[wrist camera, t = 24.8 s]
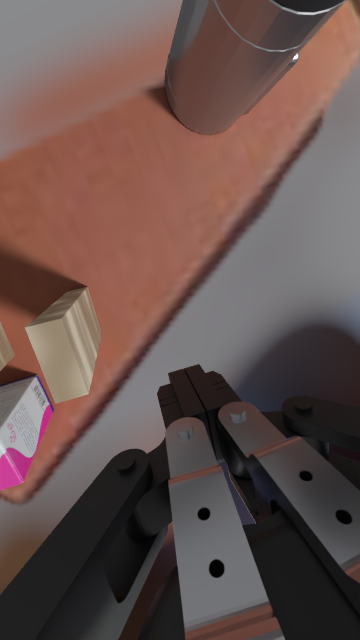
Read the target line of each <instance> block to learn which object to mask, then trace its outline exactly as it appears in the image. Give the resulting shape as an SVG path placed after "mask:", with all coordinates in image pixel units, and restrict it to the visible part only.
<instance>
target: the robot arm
mask: <svg viewBox="0 0 360 640" xmlns="http://www.w3.org/2000/svg"><path fill="white" fill-rule="evenodd" d="M346 1H347V0H183V2H182V6H181V10H180V14H179V18H178V23H177V27H176V30H175V34H174V38H173V42H172V46H171V50H170V54H169V56H168V61H167V66H166V70H165V90H166V95H167V99H168V102H169V105H170V107H171V109H172V111H173V113H174V114H175V115H176V117H177V118H178V120H179V121H180V122H181V123H182V124H183V125H185V126H186V127H187V128H189V129H190V130H192V131H194V132H197V133H200V134H206V135H212V134H217V133H220V132H222V131H224V130H226V129H227V128H229V127H230V126H231V125H232V124H233V123H234V122H235V121H236V120H237V119H238V118H239V117H240V116H241V115H242V114H247V113H249V112H250V111H251V110H252V108H253V107H254V106H255V105H256V104H257V103H258V102H259V101H260V100H261V99H262V98H263V97H264V96H265V95H266V94H267V93H268V92H269V91H270V90H271V89H272V88H273V87H274V86H275V85H276V83H277V82H278V81H279V80H280V79H281V78H282V77H283V76H284V75H285V74H286V73H287V72H288V71H289V70H290V69H291V68H292V67H293V66H294V65H295V64H296V62H297V61H298V58H299V52H300V51H301V50H302V49H303V48H304V46H305V45H306V44H307V43H308V42H309V41H310V40H311V39H312V38H313V37H314V36H315V35H316V33H317V32H318V31H319V30H320V29H321V28H322V27H323V26H324V24H325V23H326V22H327V21H328V20H329V19H330V18H331V17H332V16H333V15H334V14H335V12H336V11H337V10H338V9H339V8H340V7H341V6H342V5H343V4H344V3H345V2H346ZM168 375H169V380H170V384H167V385H164V386H161V387H160V388H159V390H158V393H157V396H158V400H159V404H160V408H161V412H162V416H163V420H164V424H165V427H166V432H165V438H164V440H163V442H162V443H161V444H160V445H159V446H158V447H157V448H155V449H154V450H152V451H151V452H149V453H148V454H146V453H145V452H144V451H143V450H140V449H129V450H126V451H123V452H121V453H119V454H118V455H116V456H115V457H113V458H112V459H111V461H110V462H109V463H108V464H107V465H106V467H105V468H104V469H103V470H102V472H101V473H100V474H99V475H98V476H97V477H96V479H95V480H94V481H93V483H92V484H91V485H90V486H89V487H88V489H87V490H86V491H85V492H84V493H83V495H82V496H81V497H80V498H79V499H78V501H77V502H76V503H75V504H74V506H73V507H72V508H71V509H70V511H69V512H68V513H67V514H66V515H65V517H64V518H63V519H62V520H61V521H60V523H59V524H58V525H57V526H56V528H55V529H54V530H53V531H52V533H51V534H50V535H49V536H48V537H47V539H46V540H45V541H44V542H43V543H42V545H41V546H40V547H39V548H38V550H37V551H36V552H35V553H34V554H33V556H32V557H31V558H30V560H29V561H28V562H27V563H26V564H25V565H24V567H23V568H22V569H21V571H20V572H19V573H18V574H17V575H16V577H15V578H14V579H13V580H12V581H11V583H10V584H9V585H8V586H7V588H6V589H5V590H4V591H3V592H2V594H1V595H0V640H118V638H119V636H120V634H121V632H122V630H123V628H124V625H125V623H126V621H127V619H128V617H129V615H130V612H131V610H132V608H133V606H134V604H135V602H136V600H137V597H138V595H139V593H140V591H141V589H142V587H143V584H144V582H145V580H146V578H147V576H148V574H149V572H150V569H151V567H152V565H153V563H154V561H155V559H156V557H157V554H158V552H159V550H160V548H161V546H162V544H163V541H164V539H165V537H166V535H167V531H168V524H170V523H171V522H172V521H173V528H174V538H175V547H176V556H177V566H175V567H174V569H173V570H172V571H171V572H170V573H169V575H168V576H167V577H166V579H165V580H164V582H163V583H162V585H161V586H160V588H159V590H158V591H157V594H156V595H155V597H154V599H153V601H152V604H151V606H150V608H149V611H148V614H147V616H146V619H145V621H144V624H143V626H142V629H141V632H140V634H139V636H138V639H137V640H360V462H357V461H354V460H351V459H348V458H345V457H342V456H339V455H336V454H333V453H330V452H329V446H328V445H329V443H331V444H334V445H337V446H340V447H344V448H347V449H350V450H354V451H357V452H360V407H356V406H351V405H347V404H342V403H337V402H333V401H328V400H323V399H318V398H314V397H309V396H294V397H291V398H288V399H286V400H285V401H284V402H283V404H282V411H273V412H260V411H258V409H257V408H256V407H255V406H253V405H252V404H250V403H247V402H242V401H241V399H240V398H239V397H238V396H237V395H236V393H235V392H234V391H233V389H232V388H231V387H230V386H229V384H228V383H227V382H226V380H225V379H224V378H223V377H222V375H221V374H218V373H216V372H214V371H211V372H208V373H205V372H204V370H203V369H202V368H201V366H200V365H199V364H198V365H194V366H191V367H188V368H184V369H181V370H177V371H174V372H170V373H168ZM224 461H225V462H226V464H227V466H228V470H229V475H230V479H231V481H232V483H233V485H234V486H235V488H236V490H237V491H238V493H239V495H240V497H241V498H242V500H243V502H244V503H245V505H246V507H247V509H248V510H249V512H250V514H251V515H252V517H253V519H254V521H255V522H256V524H250V525H242V524H241V521H240V519H239V516H238V513H237V510H236V507H235V504H234V501H233V499H232V496H231V493H230V490H229V487H228V485H227V482H226V479H225V476H224V473H223V471H222V468H221V466H220V465H218V463H221V462H224ZM217 462H218V463H217Z"/></svg>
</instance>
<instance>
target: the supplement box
mask: <svg viewBox="0 0 360 640" xmlns="http://www.w3.org/2000/svg"><path fill="white" fill-rule="evenodd" d="M53 412H54V409H53V407H52V405H51V403H50V401H49V398H48V396H47V394H46V392H45V390H44V388H43V386H42V384H41V382H40V380H39V377H38V375H33V376H30V377H27V378H24V379H21V380H17V381H14V382H11V383H7V384H4V385H1V386H0V490H2V489H5V488H8V487H12V486H15V485H18V484H21V483H23V481H24V479H25V477H26V474H27V472H28V470H29V467H30V465H31V463H32V460H33V458H34V456H35V453H36V451H37V449H38V446H39V444H40V442H41V439H42V437H43V435H44V432H45V430H46V428H47V425H48V423H49V421H50V418H51V416H52V414H53Z"/></svg>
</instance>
